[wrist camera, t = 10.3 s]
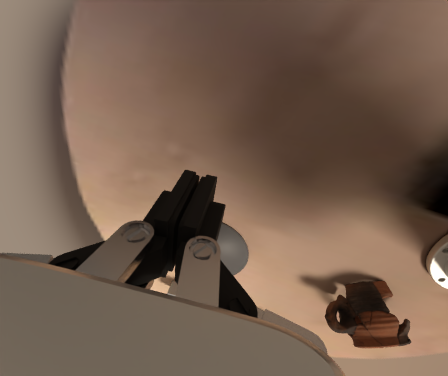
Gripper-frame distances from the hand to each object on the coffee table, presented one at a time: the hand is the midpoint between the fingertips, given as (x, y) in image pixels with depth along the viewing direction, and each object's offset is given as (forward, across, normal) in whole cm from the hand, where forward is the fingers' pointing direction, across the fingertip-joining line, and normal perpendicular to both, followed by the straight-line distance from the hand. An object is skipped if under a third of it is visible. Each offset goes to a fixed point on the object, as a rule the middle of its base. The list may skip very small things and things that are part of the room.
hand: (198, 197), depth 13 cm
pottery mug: (+17, -24, +25) cm, 39 cm away
